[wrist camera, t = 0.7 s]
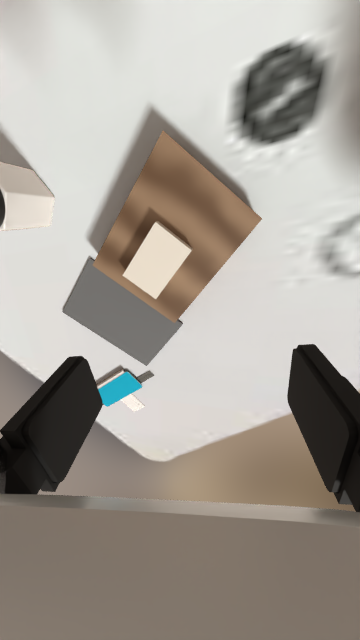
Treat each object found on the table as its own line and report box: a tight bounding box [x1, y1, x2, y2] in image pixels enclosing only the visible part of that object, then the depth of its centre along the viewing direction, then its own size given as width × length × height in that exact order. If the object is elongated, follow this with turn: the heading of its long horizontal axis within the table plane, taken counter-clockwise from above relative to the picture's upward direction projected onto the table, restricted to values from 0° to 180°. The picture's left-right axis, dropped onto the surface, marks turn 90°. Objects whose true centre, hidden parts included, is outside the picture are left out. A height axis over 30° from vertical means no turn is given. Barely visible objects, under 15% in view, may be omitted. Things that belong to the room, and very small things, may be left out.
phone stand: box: [97, 368, 154, 412], centre depth 51 cm, size 20×12×2 cm, turn 128°
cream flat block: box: [123, 221, 193, 299], centre depth 32 cm, size 9×6×2 cm, turn 144°
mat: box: [63, 258, 183, 366], centre depth 42 cm, size 13×20×1 cm, turn 54°
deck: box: [93, 131, 262, 323], centre depth 33 cm, size 20×16×4 cm
